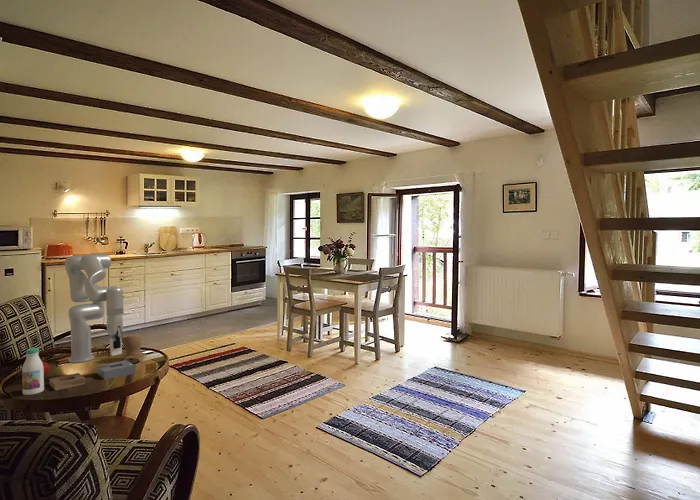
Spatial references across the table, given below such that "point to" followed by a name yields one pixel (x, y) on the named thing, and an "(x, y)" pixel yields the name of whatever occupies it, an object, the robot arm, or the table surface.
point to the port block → (116, 369)
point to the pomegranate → (45, 367)
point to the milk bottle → (32, 373)
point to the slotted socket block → (67, 381)
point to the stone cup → (133, 347)
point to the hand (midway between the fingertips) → (115, 347)
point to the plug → (112, 350)
